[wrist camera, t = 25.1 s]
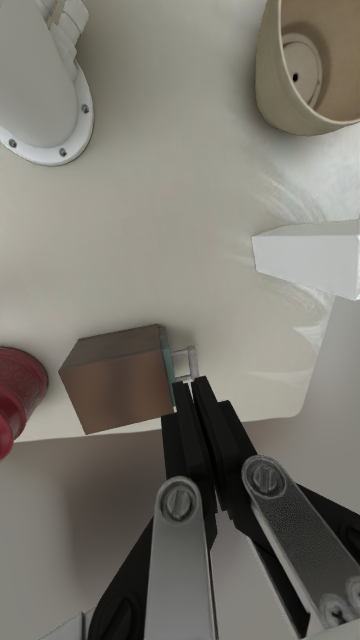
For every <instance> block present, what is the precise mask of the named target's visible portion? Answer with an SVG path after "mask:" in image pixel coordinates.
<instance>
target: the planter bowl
mask: <svg viewBox="0 0 360 640" xmlns="http://www.w3.org/2000/svg"><path fill="white" fill-rule="evenodd" d="M294 74H297V76H298V79H297V81H296V82H293V76H294ZM255 94H256V100H257V104H258V107H259V110H260V112H261V114H262V116H263V117H264V119H265V120H266V121H267V122H268V123H269V124H270V125H272V126H273V127H275V128H278V129H282V130H284V131H286V132H288V133H291V134H295V135H300V136H314V135H321V134H326V133H329V132H333V131H336V130H338V129H341V128H343V127H345V126H350V125H353V124H356V123H359V122H360V0H267V3H266V7H265V10H264V14H263V18H262V22H261V27H260V31H259V37H258V43H257V51H256V80H255Z"/></svg>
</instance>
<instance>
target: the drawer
mask: <svg viewBox="0 0 360 640" xmlns="http://www.w3.org/2000/svg"><path fill="white" fill-rule="evenodd" d="M158 331H159V337H160V344H161V350H162V355H163V360H164V365H165V370H166V375H167V379H168V384H169V389H170V394H171V399H172V404H173V407H174V406H176V404H175V399H174V394H173V389H172V383H174V382H179V381H185V380H189V379H192V380H194V378H197V377H199V370H198V362H197V355H196V347H195V346H193V345H191V346H188V347H187V349H183V350H178V351H173V352H170V347H169V343H168V339H167V334H166V330H165V328H160V329H158ZM183 354H188V360H189V366H190V373H191V375H185V376H181V377H176V378H175V373H174V368H173V362H172V357H174V356H179V355H183Z"/></svg>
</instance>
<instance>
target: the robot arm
mask: <svg viewBox="0 0 360 640" xmlns="http://www.w3.org/2000/svg"><path fill="white" fill-rule="evenodd" d="M56 4H57V0H0V141H1V142H2V143H3V144H4V145H5V146H6V147H7V148H8V149H10V150H11V151H13V152H14V153H15V154H17V155H19V156H20V157H22V158H24V159H26V160H27V161H30V162H33V163H36V164H39V165H45V166H59V165H62V164H66V163H68V162H70V161H72V160H74V159H75V158H77V157H78V156H79V155H80V154H81V153H82V152H83V150H84V149H85V147H86V146H87V144H88V142H89V139H90V137H91V134H92V129H93V124H94V109H93V102H92V97H91V93H90V90H89V86H88V83H87V81H86V78H85V76H84V73H83V71H82V69H81V68H80V66H79V64H78V62H77V60H76V59H75V56H76V54H77V51H76V48H75V44H76V42H77V40H78V38H79V36H81V34H82V32H83V29H84V27H85V25H86V23H87V21H88V19H89V13H88V11H87V9H86V7H85V5H84V4H83V2H82V0H67V1H66V3H65V5H64V7H63V10H62V15H61V18H60V20H59V22H58V24H57V25H56V24H55V23H52V25H51V27H50V29H48V28H47V25H46V24H47V22H48V19H49V17H50V16H51V15H52V13H53V10H54V8H55V6H56ZM85 111H89V112H88V113H87V114H85ZM16 144H17V147H16V148H15V145H16ZM64 153H67V155H66V156H65V157H64ZM191 388H192V394H193V399H192V396H191V393H190V389H189V386H188V383H184V384H183V381H179V382H174V383H172V389H173V394H174V399H175V404H176V409H177V412H175V413H171V414H167V415H163V416H161V426H162V436H163V447H164V457H165V468H166V478H167V481H166V482H165V483H164V484H163V485H162V486H161V487H160V490H159V491H158V494H157V496H156V501H155V510H154V516H153V517H152V519H151V521H150V522H149V524H148V525H147V527H146V528H145V530H144V531H143V533H142V535H141V536H140V538H139V539H138V541H137V543H136V544H135V546H134V547H133V549H132V550H131V552H130V554H129V555H128V557H127V558H126V560H125V561H124V563H123V564H122V566H121V568H120V569H119V571H118V572H117V574H116V575H115V577H114V578H113V580H112V582H111V583H110V585H109V586H108V588H107V589H106V591H105V593H104V594H103V596H102V597H101V599H100V601H99V603H98V605H96V606H95V607H93V608H92V609H90V610H89V611H87V612H86V613H83V612H80V613H78V614H77V615H75V616H74V617H72V618H71V619H69V620H68V621H66V622H65V623H63V624H62V625H61V626H59V627H57V628H56V629H54V630H53V631H51V632H50V633H48V634H47V635H45V636H44V637H42V638H41V639H39V640H220V636H219V628H218V627H219V626H218V618H217V607H216V598H215V589H214V578H213V570H212V559H211V548H212V545H213V543H214V540H215V538H216V535H217V526H216V519H215V513H218V511H217V503H216V495H215V489H216V493H217V496H218V500H219V503H220V507H221V510H222V511H226V510H227V512H228V515H229V518H230V520H233V522H234V525H235V527H236V528H237V529H238V530H240V531H241V532H242V533H243V534H245V535H246V537H247V540H248V543H249V545H250V547H251V549H252V551H253V553H254V555H255V557H256V559H257V562H258V564H259V566H260V568H261V570H262V572H263V575H264V577H265V579H266V581H267V583H268V585H269V587H270V590H271V592H272V594H273V596H274V598H275V600H276V602H277V605H278V607H279V609H280V611H281V613H282V615H283V617H284V620H285V621H286V624H287V626H288V628H289V630H290V632H291V635H292V637H293V639H294V640H360V515H359V514H357V513H355V512H352V511H351V510H349V509H347V508H345V507H343V506H341V505H339V504H337V503H335V502H333V501H331V500H329V499H327V498H325V497H323V496H321V495H319V494H317V493H315V492H313V491H311V490H309V489H307V488H305V487H303V486H301V485H299V484H297V483H295V482H294V481H293V480H292V479H291V477H290V476H289V474H288V473H287V472H286V471H285V469H284V468H283V467H282V466H281V465H280V464H279V463H278V462H277V461H275V460H274V459H272V458H270V457H267V456H264V455H258V454H257V452H256V450H255V448H254V447H253V445H252V443H251V441H250V439H249V437H248V435H247V433H246V432H245V429H244V428H243V426H242V424H241V422H240V420H239V418H238V416H237V414H236V412H235V410H234V408H233V407H232V405H231V403H230V401H229V400H226V401H222V402H217V400H216V397H215V395H214V393H213V391H212V389H211V386H210V384H209V382H208V380H207V377H206V376H201V377H197V378H194V381H193V382H191ZM193 401H194V403H193ZM214 486H215V488H214Z"/></svg>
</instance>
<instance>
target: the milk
mask: <svg viewBox="0 0 360 640" xmlns="http://www.w3.org/2000/svg"><path fill="white" fill-rule="evenodd" d="M251 238H252V245H253V252H254V258H255V265H256V271H257V272H260V273H264V274H267V275H270V276H274V277H277V278H280V279H284V280H287V281H290V282H294V283H297V284H300V285H304V286H307V287H310V288H314V289H317V290H320V291H324V292H327V293H331V294H334V295H337V296H341V297H344V298H347V299H351V300H358V299H360V219H356V220H345V221H333V222H321V223H310V224H298V225H287V226H282V227H279V228H276V229H273V230H270V231H267V232H264V233H261V234H258V235H254V236H252V237H251Z"/></svg>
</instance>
